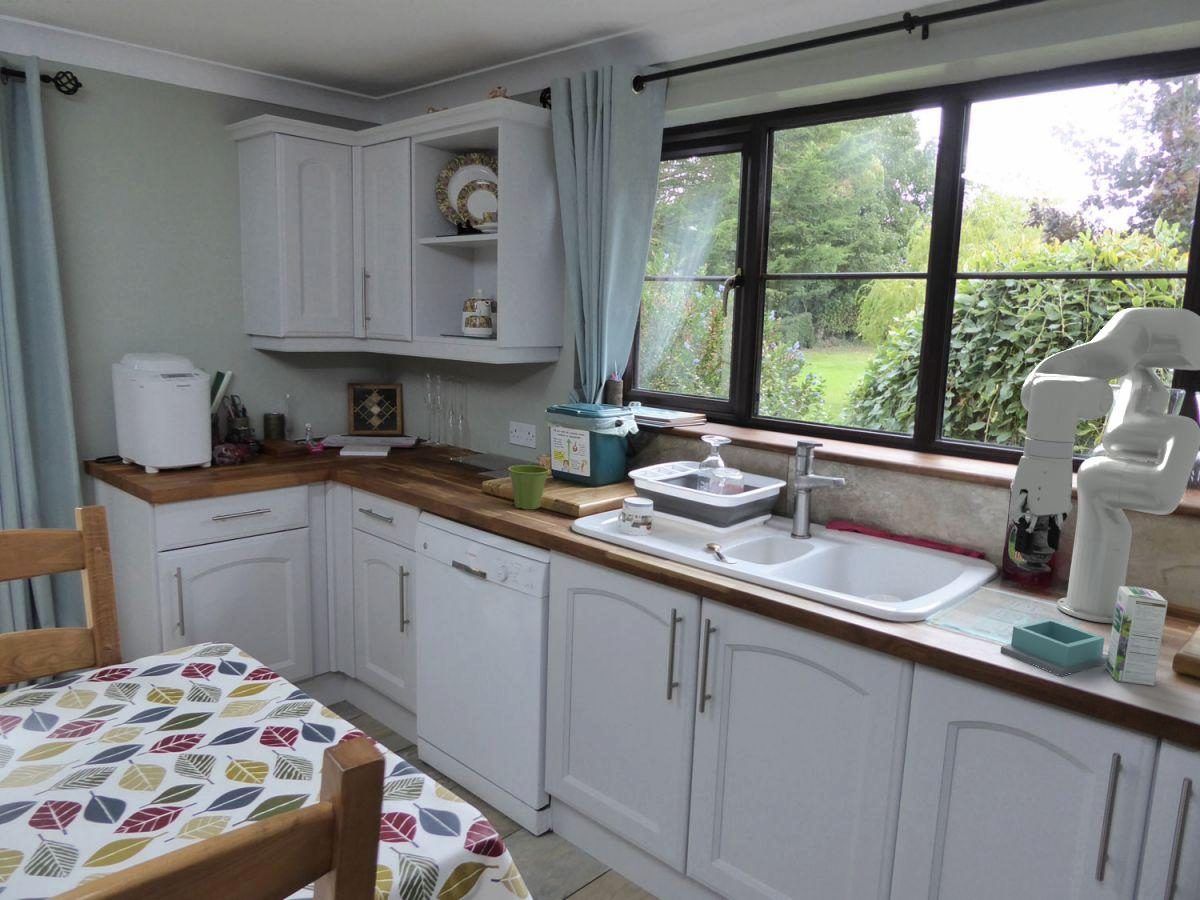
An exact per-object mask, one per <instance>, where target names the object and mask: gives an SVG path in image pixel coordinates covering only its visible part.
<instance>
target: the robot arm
mask: <svg viewBox="0 0 1200 900" xmlns="http://www.w3.org/2000/svg"><path fill="white" fill-rule="evenodd" d="M1153 368H1154V369H1156V368H1157V369H1167V370H1169V369H1170V370H1182V371H1183V370H1184V371H1186V370H1187V371H1200V315H1198V314H1197V313H1196V312H1193V311H1191V310H1190V309H1186V308H1179V307H1178V308H1177V307H1131V308H1129V307H1128V308H1126V309H1122V310H1120V311H1119V312H1117V313H1115V315H1114V316H1113V317H1111V319H1110V320H1108V322H1107V323H1106V324H1105V326H1104V327H1103V328H1102V329H1101V330H1100V331H1099V332H1098V333H1096V335H1095V336H1094V337H1093V338H1092V340H1091V341H1089V342H1086V343H1083V344H1079V345H1076V346H1074V347H1071V348H1069V349H1066V350H1063V351H1060V352H1057V353H1055V354H1052V355H1051V356H1048V357H1047V358H1045V359H1043V360H1042V361H1041V362H1040V363H1039V364H1038V365H1037V366H1036V367H1035V368H1034V369H1032V371H1031V373H1029V375H1028V376H1027V378H1026V379H1025V381H1024V382H1023V385H1022V387H1021V391H1020V401H1021V405H1022V406H1023V409H1025V411H1027V415H1028V416H1027V421H1026V422H1027V423H1026V430H1025V438H1024V447H1023V455H1022V456H1021V457H1020V459H1019V462H1018V464H1017V465H1018V466H1017V467H1016V472H1015V475H1014V479H1013V483H1012V484H1013V486H1012V491H1011V497H1010V505H1009V507H1010V508H1009V509H1008V511H1007V512H1008V515H1009V517H1011V520H1012V523H1013V524H1014V529H1015V530H1016V534H1015V541H1014V549H1013V550H1014V551H1015V552H1016V553H1019V554H1020V553H1023V554H1026V555H1032V554H1033V548H1034V540H1035V533H1034V532H1032V531H1033V529H1034V526H1035V524H1036V521H1037V518H1038V517H1039V516H1048V515H1049V523H1048V526H1049V527H1050V530H1048V535H1047V542H1048V546H1049V547H1051V548H1053V549H1055V552H1058V551H1059V547H1060V546H1059V545H1060V538H1061V531H1062V529H1063V528H1064V522H1065V520H1066V519H1067V518H1068V515H1069V514H1070V513H1071V511H1072V510H1073V508H1074V506H1073V503H1072V502H1071V498H1072V492H1073V458H1074V450H1075V441H1076V435H1077V426H1078V421H1079V420H1080V421H1096V420H1099V419H1101V418H1103V417H1104V416H1106V415H1107V414H1108V413H1109V412H1110V410H1111V408H1112V406H1113V408H1112V411H1111V413H1110V415H1109V418H1108V420H1107V423H1106V425H1105V429H1104V431H1103V436H1102V448H1103V449H1104V450H1105V452H1107V453H1108V454H1110V455H1113V456H1106V455H1104V456H1093V457H1090V458H1088V459H1085V460H1084V461H1083V462H1082V463H1081V464H1080V465H1079V468H1078V470H1077V473H1076V474H1077V475H1076V489H1077V490H1076V491H1077V493H1076V494H1077V515H1076V525H1075V533H1074V539H1073V548H1072V556H1071V565H1070V572H1069V579H1068V584H1067V585H1068V586H1067V593H1066V596H1065V597H1061V598H1059V599H1057V603H1056V607H1057V608H1058V609H1059V610H1060V611H1061V612H1062V613H1064V614H1067V615H1069V616H1072V617H1075V618H1078V619H1082V620H1086V621H1090V622H1095V623H1102V624H1113V620H1114V614H1115V608H1116V603H1117V596H1118V590H1119V587H1126V580H1127V579H1126V578H1127V572H1128V564H1129V557H1130V550H1131V545H1132V537H1133V536H1132V535H1133V530H1132V525H1131V524H1130V521H1129V519H1128V517H1127V516H1126V514H1125V512H1124V510H1130V511H1135V512H1136V511H1137V512H1141V513H1146V514H1152V515H1160V516H1161V515H1162V516H1163V515H1170V514H1171V513H1173V512H1174V511H1175V510H1176V509H1178V506H1179V505H1180V503H1181V500H1182V497H1183V495H1184V492H1185V490H1186V487H1187V484H1188V481H1189V479H1190V477H1191V473H1192V471H1193V468H1194V465H1195V462H1196V461H1197V456H1198V454H1199V450H1200V425H1199V424H1198V422H1197V421H1195V420H1194V419H1193V418H1191V417H1188V416H1184V415H1180V414H1179V415H1177V414H1170V413H1169V414H1168V413H1165V411H1166V408H1167V406H1168V404H1169V400H1170V396H1169V392H1168V389H1167V388H1166V386H1165V384H1164V383H1163V381H1162V380H1161V379H1160V378H1159V376H1158V375H1157V374H1156V373H1155V372H1154V370H1153ZM1113 380H1118V381H1119V392H1118V395H1117V398H1116V401H1115V398H1114V397H1115V396H1114V390H1113V388H1112V387H1111V385H1110V383H1108V382H1109V381H1113ZM1114 401H1115V404H1114ZM1113 404H1114V405H1113ZM1115 456H1116V457H1115ZM1026 518H1029V519H1028V521H1027V519H1026ZM1055 552H1054V553H1055Z"/></svg>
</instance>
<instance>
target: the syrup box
mask: <svg viewBox="0 0 1200 900" xmlns="http://www.w3.org/2000/svg"><path fill="white" fill-rule="evenodd" d="M1168 604H1169V602H1168V600H1166V599H1165V598H1164V597H1163V596H1162V595H1161V594H1160V593H1159V592H1157V590H1152V589H1148V588H1144V587H1136V586H1125V587H1119V590H1118V596H1117V603H1116V608H1115V614H1114V620H1113V623H1112V626H1111V634H1110V638H1109V644H1108V645H1109V646H1108V653H1107V655H1108V659H1107V663H1106V664H1105V666H1106V667H1105V668H1106V670H1107V671H1108V672H1109V673H1110V675H1111V676H1112V678H1113V679H1114V680H1115V681H1116V682H1122V683H1130V684H1137V685H1144V686H1152V687H1153V686H1155V681H1156V675H1157V669H1158V664H1159V658H1160V650H1161V646H1162V645H1161V644H1162V641H1163V640H1162V639H1163V634H1164V627H1165V620H1166V615H1167V609H1168Z"/></svg>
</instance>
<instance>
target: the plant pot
mask: <svg viewBox="0 0 1200 900" xmlns="http://www.w3.org/2000/svg"><path fill="white" fill-rule="evenodd" d="M507 470H508V471H509V473H510V479H511V482H512V490H513V492H512V493H513V499H514V500H513V501H514V507H515V508H516V509H523V510H526V511H527V510H536V509H539V508H541V504H540V498H541V496H542V497H543V494H544V489H545V484H546V480H547V478H548V473H549V472H550V470H551V469H549V468H548V467H544V466H540V465H531V464H530V465H528V464H527V465H526V464H525V465H523V464H522V465H512V466H509V467H508V468H507Z"/></svg>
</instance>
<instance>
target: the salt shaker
mask: <svg viewBox="0 0 1200 900" xmlns="http://www.w3.org/2000/svg"><path fill="white" fill-rule="evenodd" d="M1048 523H1049V515H1048V516H1039V517H1038V518H1037V521H1036V524H1035V526H1034V529H1033V531H1032V532H1034V533H1035V540H1034V548H1033V554H1032V555H1026V554H1023V553H1020V552H1019V556H1020V557H1021V559H1023V561H1020V562H1018V563H1017V567H1019V568H1020V569H1022V570H1025V571H1030V572H1038V573H1049V572H1051V571H1052V569H1051V567H1049V566H1048V565H1047V564H1046V563H1048V562H1049V561H1051V559H1052V558H1053V555H1054V553H1055V549H1053V548H1051V547H1049V546H1048V542H1047V535H1048V530H1050V527H1049V526H1048Z"/></svg>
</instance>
